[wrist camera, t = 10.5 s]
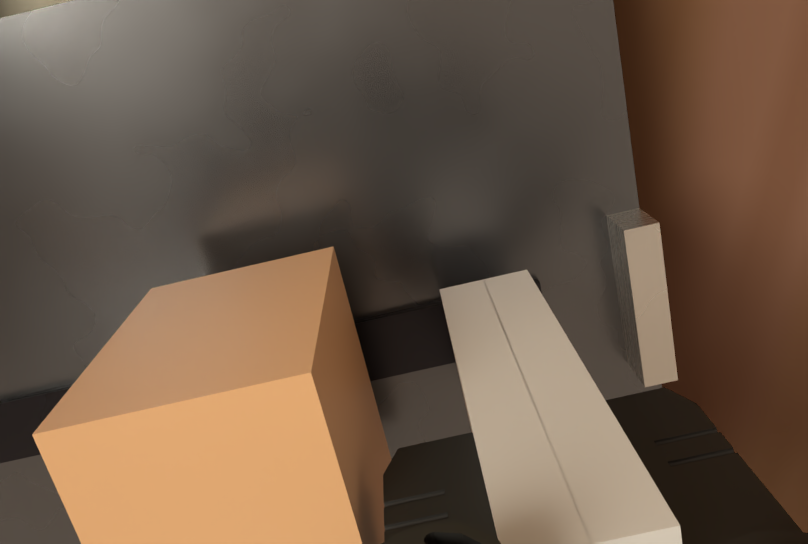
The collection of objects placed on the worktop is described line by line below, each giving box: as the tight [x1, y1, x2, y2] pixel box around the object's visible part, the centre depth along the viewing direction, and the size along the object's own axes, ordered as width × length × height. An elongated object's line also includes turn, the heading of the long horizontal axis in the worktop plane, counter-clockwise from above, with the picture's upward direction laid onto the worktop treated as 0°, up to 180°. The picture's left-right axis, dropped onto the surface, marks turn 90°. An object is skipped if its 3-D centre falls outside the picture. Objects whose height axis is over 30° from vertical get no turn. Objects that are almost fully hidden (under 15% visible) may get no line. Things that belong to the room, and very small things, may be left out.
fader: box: [32, 246, 392, 544], centre depth 11 cm, size 3×5×5 cm, turn 13°
